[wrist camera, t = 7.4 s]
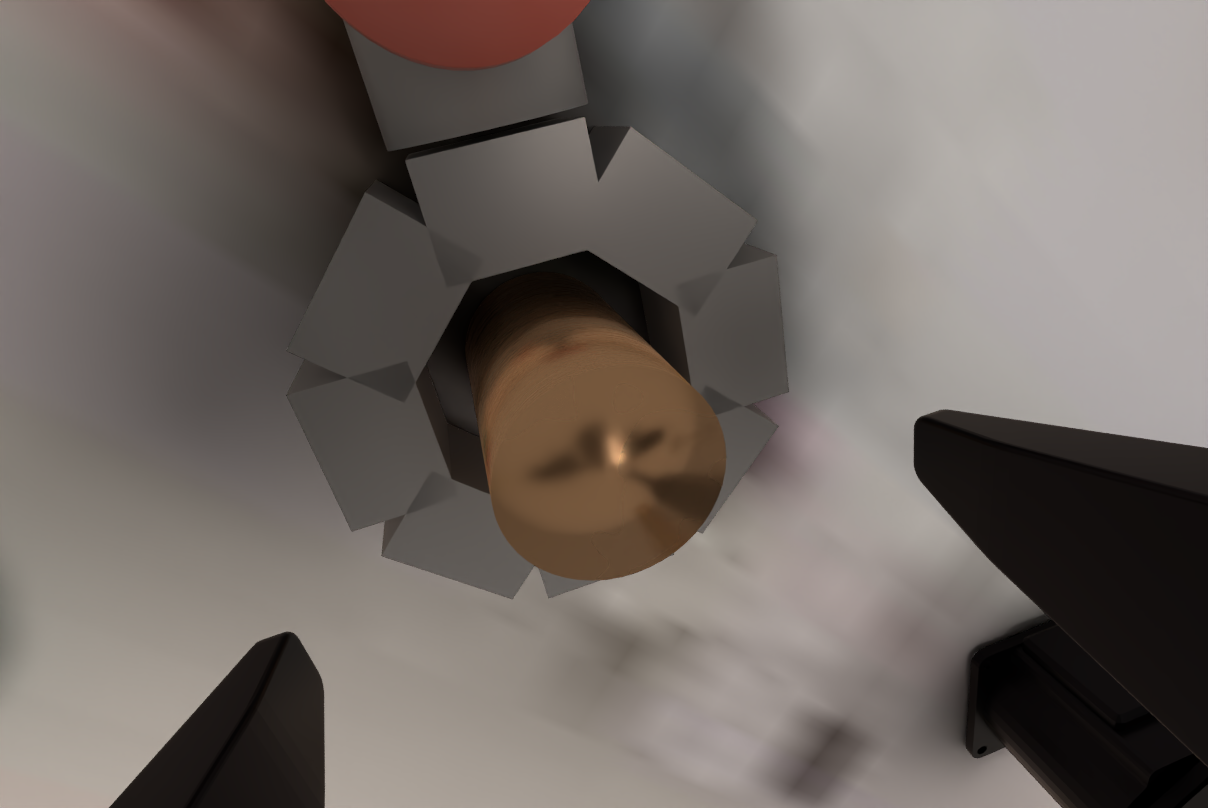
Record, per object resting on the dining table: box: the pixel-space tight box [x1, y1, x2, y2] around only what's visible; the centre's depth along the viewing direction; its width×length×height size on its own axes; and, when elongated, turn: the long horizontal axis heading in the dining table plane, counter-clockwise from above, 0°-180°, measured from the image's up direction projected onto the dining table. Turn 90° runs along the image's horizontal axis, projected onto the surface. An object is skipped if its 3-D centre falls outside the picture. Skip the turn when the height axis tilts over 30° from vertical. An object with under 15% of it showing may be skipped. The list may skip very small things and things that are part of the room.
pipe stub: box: [465, 272, 726, 581], centre depth 14 cm, size 4×4×7 cm
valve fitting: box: [286, 0, 789, 599], centre depth 13 cm, size 17×11×6 cm, turn 12°
